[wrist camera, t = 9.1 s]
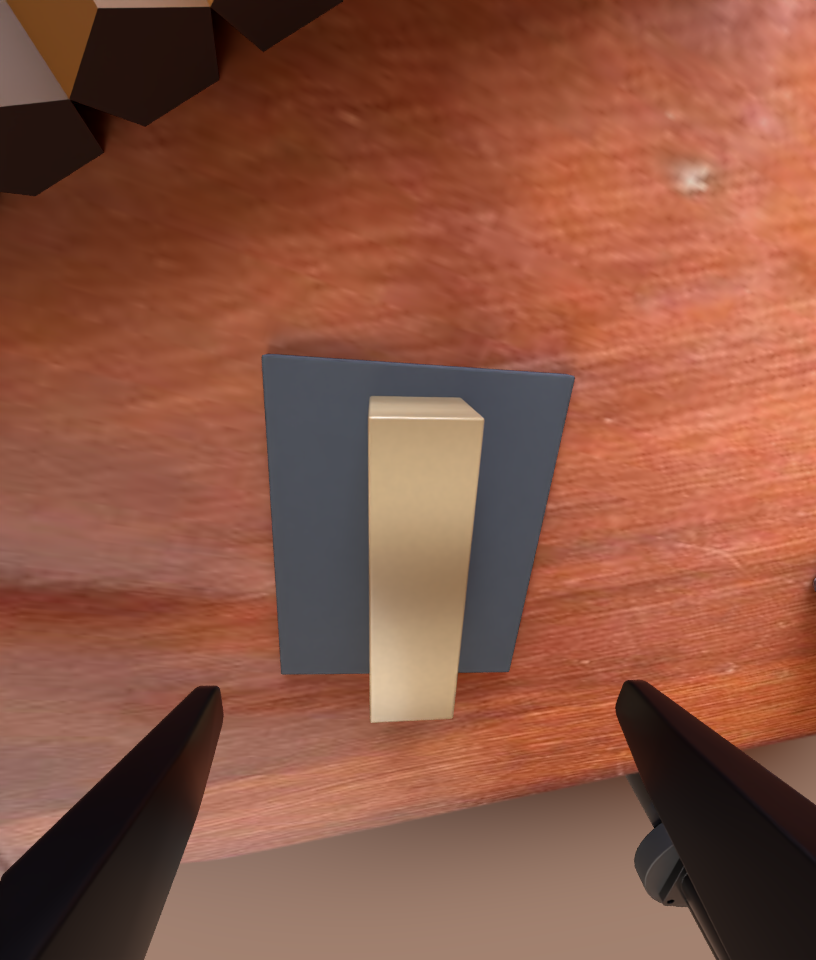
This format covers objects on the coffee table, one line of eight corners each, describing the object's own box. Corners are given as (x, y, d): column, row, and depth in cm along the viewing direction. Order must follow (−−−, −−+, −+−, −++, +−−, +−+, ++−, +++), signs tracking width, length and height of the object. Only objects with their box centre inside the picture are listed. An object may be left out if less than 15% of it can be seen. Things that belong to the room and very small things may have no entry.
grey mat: (505, 662, 18) (509, 672, 18) (283, 663, 17) (280, 675, 17) (567, 373, 13) (576, 376, 13) (265, 353, 12) (260, 355, 12)
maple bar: (440, 654, 17) (453, 720, 14) (370, 656, 17) (369, 724, 14) (461, 397, 13) (485, 418, 10) (369, 395, 13) (367, 416, 10)
